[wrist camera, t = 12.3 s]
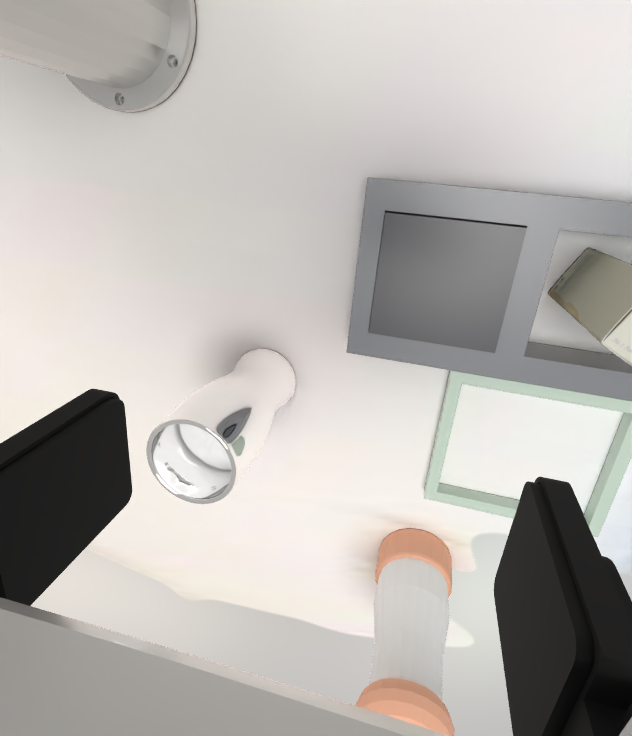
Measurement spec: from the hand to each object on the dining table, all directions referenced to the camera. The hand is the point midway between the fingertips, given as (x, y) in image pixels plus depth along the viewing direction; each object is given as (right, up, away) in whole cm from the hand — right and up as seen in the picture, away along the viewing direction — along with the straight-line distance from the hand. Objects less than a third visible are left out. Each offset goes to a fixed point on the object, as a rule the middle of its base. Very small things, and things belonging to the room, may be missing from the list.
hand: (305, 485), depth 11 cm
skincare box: (+22, +8, +24) cm, 34 cm away
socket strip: (+16, +9, +25) cm, 31 cm away
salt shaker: (+11, -17, +37) cm, 42 cm away
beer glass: (-4, +2, +34) cm, 34 cm away
